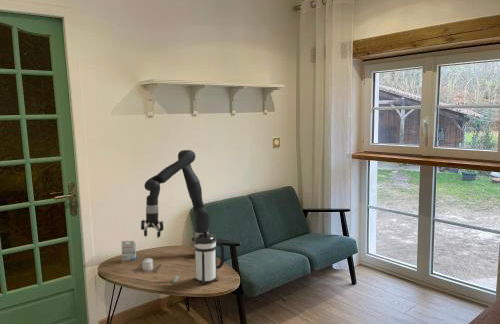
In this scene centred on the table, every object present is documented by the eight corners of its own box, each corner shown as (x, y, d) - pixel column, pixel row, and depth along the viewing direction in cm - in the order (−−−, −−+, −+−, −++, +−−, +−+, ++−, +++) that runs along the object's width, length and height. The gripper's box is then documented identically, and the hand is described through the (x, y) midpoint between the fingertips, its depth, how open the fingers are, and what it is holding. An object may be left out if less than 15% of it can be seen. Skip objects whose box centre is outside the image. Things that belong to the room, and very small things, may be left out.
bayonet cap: (153, 266, 237) (153, 258, 236) (151, 270, 231) (151, 261, 230) (144, 266, 237) (144, 258, 236) (141, 270, 231) (141, 261, 230)
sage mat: (178, 275, 226) (178, 275, 226) (175, 283, 216) (175, 282, 216) (159, 276, 226) (159, 275, 226) (155, 283, 216) (155, 282, 216)
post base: (161, 266, 241) (161, 258, 241) (156, 275, 227) (156, 266, 227) (140, 266, 241) (139, 258, 240) (133, 275, 227) (133, 266, 227)
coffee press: (216, 286, 211) (215, 235, 208) (189, 284, 215) (188, 233, 211) (224, 274, 228) (223, 226, 225) (199, 272, 231) (198, 225, 228)
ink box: (136, 259, 254) (135, 238, 252) (135, 262, 249) (134, 240, 247) (123, 259, 253) (123, 238, 252) (122, 262, 248) (121, 241, 247)
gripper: (165, 211, 237) (165, 236, 239) (144, 209, 240) (144, 234, 241) (160, 213, 230) (160, 239, 231) (138, 212, 232) (138, 237, 234)
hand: (152, 236), depth 236 cm, fingers open, 8 cm apart
